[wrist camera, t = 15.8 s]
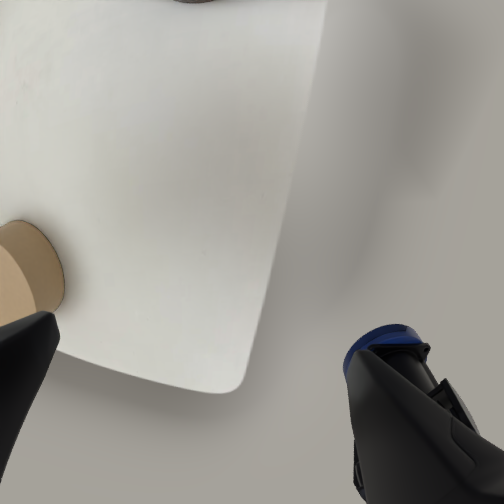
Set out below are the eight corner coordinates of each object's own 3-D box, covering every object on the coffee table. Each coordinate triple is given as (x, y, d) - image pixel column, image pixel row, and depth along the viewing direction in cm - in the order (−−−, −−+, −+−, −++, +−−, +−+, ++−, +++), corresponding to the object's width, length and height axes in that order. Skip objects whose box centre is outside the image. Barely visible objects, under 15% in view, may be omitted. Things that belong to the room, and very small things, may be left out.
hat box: (56, 223, 20) (22, 242, 16) (73, 321, 24) (49, 350, 19) (-10, 218, 20) (-42, 233, 16) (8, 303, 23) (-17, 326, 19)
